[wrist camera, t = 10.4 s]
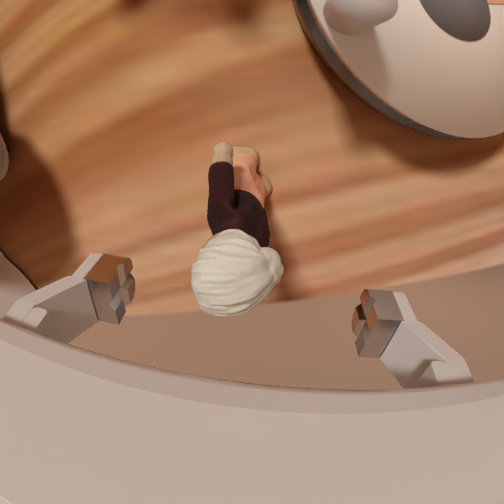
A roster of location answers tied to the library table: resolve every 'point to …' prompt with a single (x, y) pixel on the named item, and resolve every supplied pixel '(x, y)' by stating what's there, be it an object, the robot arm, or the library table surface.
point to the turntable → (424, 58)
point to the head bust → (3, 158)
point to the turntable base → (347, 78)
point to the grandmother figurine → (235, 237)
